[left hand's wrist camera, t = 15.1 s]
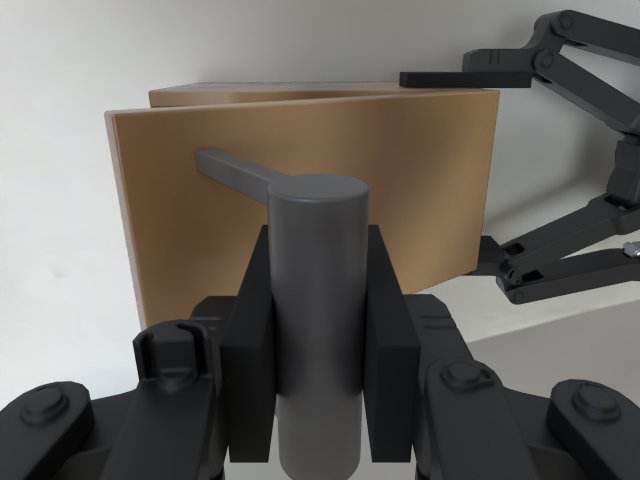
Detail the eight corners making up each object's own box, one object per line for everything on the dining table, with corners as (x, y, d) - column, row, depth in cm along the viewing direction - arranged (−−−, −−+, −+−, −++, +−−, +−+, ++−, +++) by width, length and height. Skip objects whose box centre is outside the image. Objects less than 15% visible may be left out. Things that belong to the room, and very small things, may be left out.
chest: (208, 212, 35) (170, 262, 26) (196, 82, 31) (147, 91, 23) (430, 212, 35) (465, 261, 26) (441, 81, 31) (486, 89, 23)
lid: (148, 373, 17) (253, 573, 10) (103, 110, 13) (216, 155, 7) (460, 262, 26) (622, 330, 19) (480, 89, 23) (685, 99, 16)
